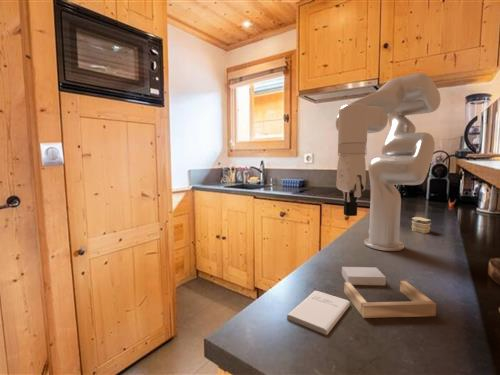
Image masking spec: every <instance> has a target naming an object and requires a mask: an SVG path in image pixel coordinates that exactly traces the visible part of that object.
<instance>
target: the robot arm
mask: <svg viewBox="0 0 500 375" xmlns="http://www.w3.org/2000/svg"><path fill="white" fill-rule="evenodd" d="M440 106H441V94H440V91H439V89H438V88H437V85H436V84H435V82H434V81H433V79H432V78H431V77H430V76H429V75H428V74H427V73H424V72H418V73H414V74H412V73H411V74H408V75H407V74H406V75H404V76H398V77H394V78H391V79H389V80H388V81H387V82H385V83H384V84H383V85H382V86H381V87H380V88H379V89H377V90H376V91H375V92H372V93H370V94H368V95H366V96H364V97H362V98H359V99H357V100H354V101H353V102H350V103H348V104H344V105H342V106H341V107H340V108H339V111H338V114H337V116H336V119H335V127H336V130H337V132H338V135H337V156H338V160H337V167H336V184H335V186H336V188H337V189H338V190H339V191H341V192H342V194H343V215H344V216H346V217H356V216H358V202H359V198H361V197H362V192H364V191H365V190H366V183H367V179H366V178H367V176H366V175H367V173H366V172H367V171H366V170H367V168H366V166H367V165H366V156H367V155H368V154H367V152H368V134H375V133H379V132H382V131H383V130H384V129H385V128H386V127H387V125H388V124H389V129H388V133H387V135H386V137H385V140H384V141H383V144H382V148H381V154H382V155H381V156H376V157H374V158H371V160H370V162H369V163H368V176H369V182H370V183H369V185H370V204H369V206H370V207H369V229H368V231H367V233H368V237H367V238H365V239H364V242H363V243H364V245H365V246H367V247H368V248H371V249H374V250H378V251H379V250H380V251H384V252H397V251H402V250H403V249H405V244H404V242H401V241H400V229H401V228H400V227H401V206H402V198H401V197H402V196H401V193H400V191H399V190H398V188H397V187H396V186H395V185H402V186H403V185H404V186H405V185H406V186H417V185H418V186H419V185H421V184H423V183H424V181H425V180H426V178H427V176H428V173H429V169H430V166H431V162H432V160H433V157H434V152H435V149H436V148H435V146H436V145H435V144H436V143H435V138H434V137H433V135H432V134H430V133H428V132H423V131H422V132H420V131H419V132H416V130H417V128H416V126H415V124H414V123H413V122H412V120H410V119H409V118H407V116H413V115H422V114H430V113H433V112H435V111H437V110H438V109H439V107H440Z"/></svg>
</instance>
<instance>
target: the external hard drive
mask: <svg viewBox="0 0 500 375" xmlns="http://www.w3.org/2000/svg"><path fill="white" fill-rule="evenodd" d="M350 306H351V301H350V300H349V299H344V298H341V297H339V296H334V295H331V294H329V293H326V292H321V291H319V290H314V291H313V292H312V293H311V294H310V295H308V296H307V297H306V298H304V300H302V301H301V302H300V303H299V304H298V305H297V306H295V307H294V308H293V309H292V310H291V311H290V312H289V313H288V314H287V315H286V320H289V321H291V322H294V323H296V324H299V325H301V326H304V327H306V328H308V329H311V330H313V331H316V332H318V333H320V334H322V335H324V336H328V335H329V333H330V332H331V331H332V329H333V328H334V327H335V325H337V323H338V322H339V320H340V319H341V318H342V316H343V315H344V314H345V312H346V311H347V310H348V309H349V307H350Z"/></svg>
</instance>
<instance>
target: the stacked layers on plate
mask: <svg viewBox="0 0 500 375" xmlns="http://www.w3.org/2000/svg"><path fill="white" fill-rule="evenodd" d="M411 219H412V220H411V223H412V224H411V227H410V228H412V229H411V232H412V231H413V232H416V233H417V232H418V233H422V234H428V233H430V229H432V228H431V227H430V226H431V225H432V222H429V221H431V219H429V218H424V217H420V216H414V217H412V218H411Z"/></svg>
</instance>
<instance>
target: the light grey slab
mask: <svg viewBox="0 0 500 375" xmlns="http://www.w3.org/2000/svg"><path fill="white" fill-rule="evenodd" d="M341 276H342V277H343V279H344V280H345V282H350V283H351V284H352V286H359V285H360V286H386V280H387V279H386V278H387V277H386V276H385V275H384V274H383V273H382V272H381V271H380V269H379V268H377V267H371V266H370V267H367V266H366V267H364V266H341Z"/></svg>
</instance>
